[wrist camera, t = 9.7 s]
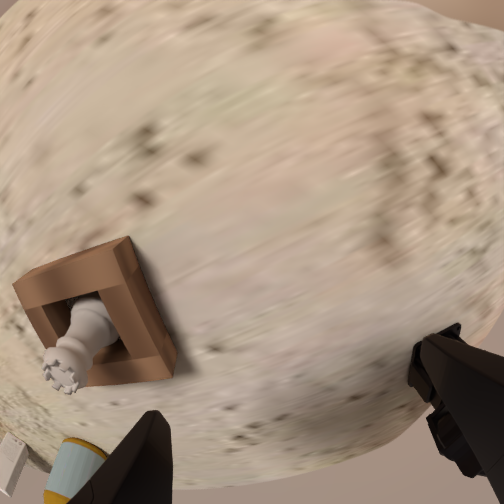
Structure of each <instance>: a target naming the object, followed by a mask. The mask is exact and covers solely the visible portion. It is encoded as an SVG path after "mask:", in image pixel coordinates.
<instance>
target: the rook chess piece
mask: <svg viewBox="0 0 504 504" xmlns="http://www.w3.org/2000/svg"><path fill="white" fill-rule="evenodd" d="M119 336H120V335H119V334H118V332H117V330H116V328H115V326H114V324H113V322H112V320H111V318H110V316H109V314H108V312H107V310H106V308H105V306H104V304H103V302H102V299H101V297H100V295H99V293H98V291H94V292H90V293H86V294H82V295H79V298H78V300H76V301H75V303H74V306H73V308H72V311H71V325H70V327H69V329H68V331H67V333H66V334H65V336H64V337H61V338H59V339H58V340H57V343H56V347H50V348H48V349H46V350H45V351H44V355H43V359H44V363H43V365H42V368H41V369H42V370H44V371H45V372H44V373H43V376H44V378H45V379H46V381H48V380H50V378H52V380H53V381H54V384H53V385H52V387H53V388H55V389H56V390H58V391H59V389H60V387H64V388H65V389H64V393H65V394H70V395H71V394H72V392H75V393H76V391H77V389H80V388H83V387H85V386H86V385H87V383H88V375H87V372H86V371H87V370H89V369H91V367H92V365H93V357H94V356H95V355H96V354H97V352H98V351H99V350H100V349H101V348H104V347H106V346H109V345H111V344H113V343H115V342H116V341H117V340H118V338H119Z"/></svg>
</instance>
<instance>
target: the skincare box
mask: <svg viewBox="0 0 504 504" xmlns="http://www.w3.org/2000/svg"><path fill="white" fill-rule="evenodd" d="M28 456H29V453H28V449H27V446H26V443H24V442H23V441H21V440H20V439H18V438H17V437H15V436H14V435H13V434H11V433H10V432H7V433H6V435H5V437H4V439H3V441H2V443H1V445H0V491H2V492H3V493H4V494H6V495H7V496H9V497H12V494H13V492H14V489H15V487H16V484H17V481H18V479H19V477H20V474H21V472H22V469H23V467H24V465H25V462H26V460H27V458H28Z"/></svg>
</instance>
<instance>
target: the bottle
mask: <svg viewBox="0 0 504 504" xmlns="http://www.w3.org/2000/svg"><path fill="white" fill-rule="evenodd" d="M106 459H107V457H106V455H105V454H104V453H103V452H102V451H101V450H100V449H99V448H97V447H96V446H94V445H92V444H91V443H89V442H86V441H84V440H81V439H79V438H73V437H72V438H67V439H64V440H63V442H62V444H61V447H60V449H59V452H58V454H57V457H56V459H55V462H54V465H53V467H52V470H51V473H50V475H49V478H48V481H47V484H46V487H45V490H44V504H66V503H67V502H68V501H69V500H70V499H71V498H72V497H73V496H74V495H75V494H76V493H77V492H78V491H79V490H80V489H81V488H82V487H83V486H84V485H85V483H86V482H87V481H88V480H89V479H90V478H91V477H92V475H93V474H94V473H95V472H96V471H97V470H98V468H99V467H100V466H101V465H102V464H103V463H104V461H105V460H106Z"/></svg>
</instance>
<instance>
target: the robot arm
mask: <svg viewBox="0 0 504 504" xmlns="http://www.w3.org/2000/svg"><path fill="white" fill-rule="evenodd" d="M460 330H461V324H460V323H456V324H454V325H452V326H450V327H448V328H446V329H444V330H442V331H440V332H439V333H437V334H434V333H432V334H430V335H428V336H426V337H424V338H423V340H422V341H420V342H418V343H416V344H415V346H414V348H413V356H412V363H411V368H410V374H409V381H408V385H409V386H410V387H413V386H414V388H415V389H416V390H417V392H418V393H419V395H420V396H421V397H422V399H423V400H424V402H426V403H429V402H430V403H431V404H432V406H433V407H434V409H435V411H434V412H433V413H432V414H429V415H428V416H427V417H426V420H427V422H428V426H429V428H430V431H431V433H432V436H433V438H434V441H435V443H436V446H437V448H438V450H439V453H440V454H441V455H443V456H445V457H446V458H448V459H449V460H451V461H455V463H456V464H457V466H458V467H459V469H460V471H461V472H462V474H463V475H464V476H467V477H470V478H474V477H475V476H476V475H480V476H485V477H487V478H488V480H489V482H490V484H491V486H492V488H493V490H494V492H495V494H496V496H497V498H498V500H499V502H500V504H504V357H503V356H499V355H497V354H494V353H490V352H488V351H485V350H482V349H479V348H476V347H473V346H470V345H468V344H467V343H466V342H465V341H464V340H462V339H461V338H460V337H459V335H460ZM172 483H173V458H172V444H171V429H170V425H169V424H168V422H167V421H166V419H165V418H164V417H163V415H162V414H161V413H160V411H158V410H152V411H147V412H145V414H144V415H143V416H142V417H141V418H140V420H139V421H138V422H137V423H136V424H135V426H134V427H133V428H132V429H131V430H130V432H129V433H128V434H127V435H126V436H125V438H124V439H123V440H122V441H121V442H120V444H119V445H118V446H117V447H116V448H115V450H114V451H113V452H112V453H111V454H110V455H109V457H108V458H107V459H106V460H105V461H104V463H103V464H102V465H101V466H100V467H99V468H98V470H97V471H96V472H95V473H94V474H93V475H92V477H91V478H90V479H89V480H88V481H87V482H86V483H85V485H84V486H83V487H82V488H81V489H80V490H79V491H78V492H77V493H76V494H75V495H74V496H73V497H72V498H71V499H70V500H69V501H68V502H67V503H66V504H172Z"/></svg>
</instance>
